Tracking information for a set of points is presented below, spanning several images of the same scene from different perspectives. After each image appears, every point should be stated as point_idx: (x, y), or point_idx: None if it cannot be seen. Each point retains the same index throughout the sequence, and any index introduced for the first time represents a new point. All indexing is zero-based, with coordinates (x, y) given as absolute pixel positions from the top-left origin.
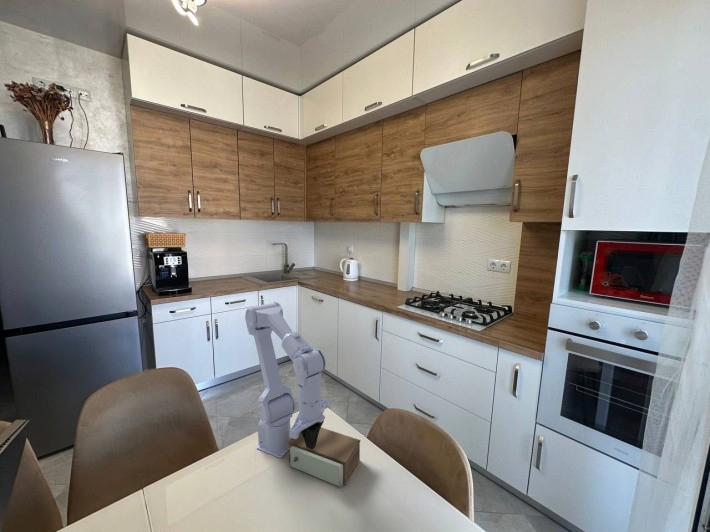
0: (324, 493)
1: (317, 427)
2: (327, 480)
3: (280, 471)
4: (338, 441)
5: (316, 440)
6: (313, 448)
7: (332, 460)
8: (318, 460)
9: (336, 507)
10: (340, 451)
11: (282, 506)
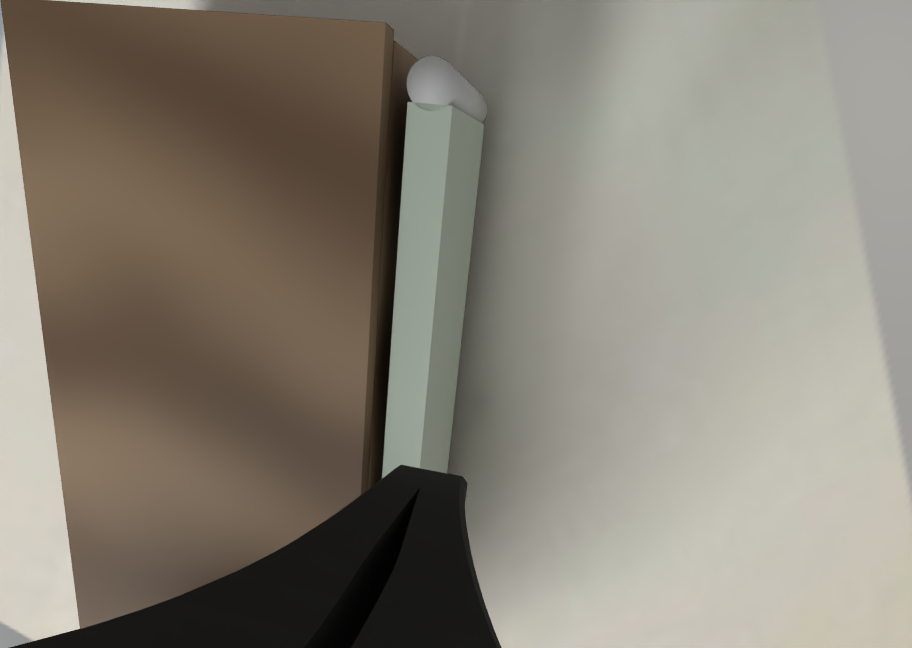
0: (564, 215)
1: None
2: (472, 233)
3: (490, 577)
4: (141, 250)
5: (374, 502)
6: (447, 474)
7: (387, 216)
8: (432, 359)
9: (657, 68)
10: (260, 165)
11: (746, 453)
